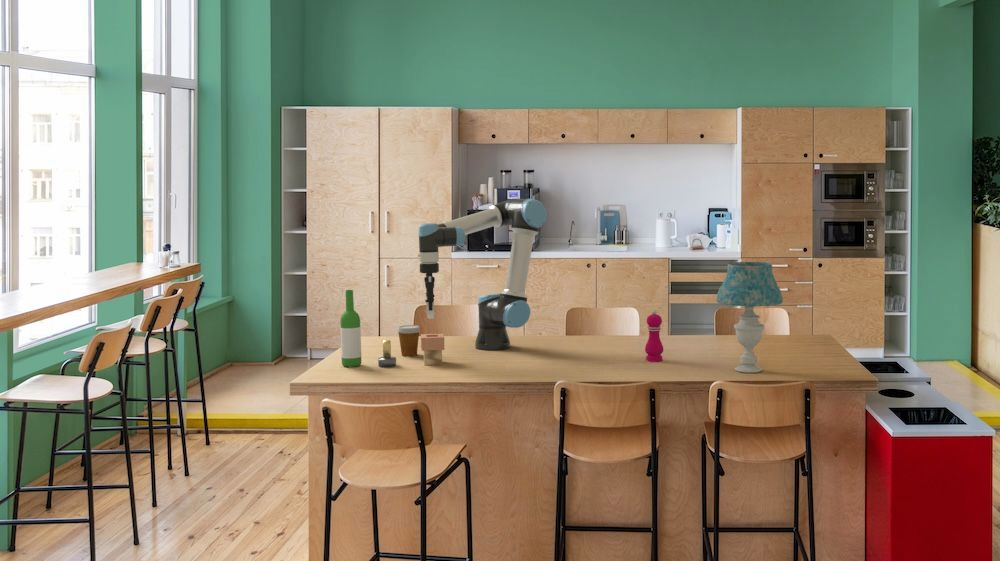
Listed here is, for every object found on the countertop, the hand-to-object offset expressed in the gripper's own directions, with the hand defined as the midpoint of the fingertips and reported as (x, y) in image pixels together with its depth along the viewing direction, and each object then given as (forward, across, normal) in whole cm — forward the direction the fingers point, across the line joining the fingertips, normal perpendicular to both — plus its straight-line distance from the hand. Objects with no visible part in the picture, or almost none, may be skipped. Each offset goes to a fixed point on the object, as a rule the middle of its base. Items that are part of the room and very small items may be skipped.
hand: (430, 316), depth 391 cm
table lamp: (+19, +36, +117) cm, 124 cm away
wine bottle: (+19, 0, -31) cm, 37 cm away
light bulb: (+19, +3, -17) cm, 26 cm away
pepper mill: (+19, +10, +88) cm, 90 cm away
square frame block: (+13, 0, +1) cm, 13 cm away
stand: (+19, 0, +1) cm, 19 cm away
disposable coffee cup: (+19, -18, -9) cm, 28 cm away
